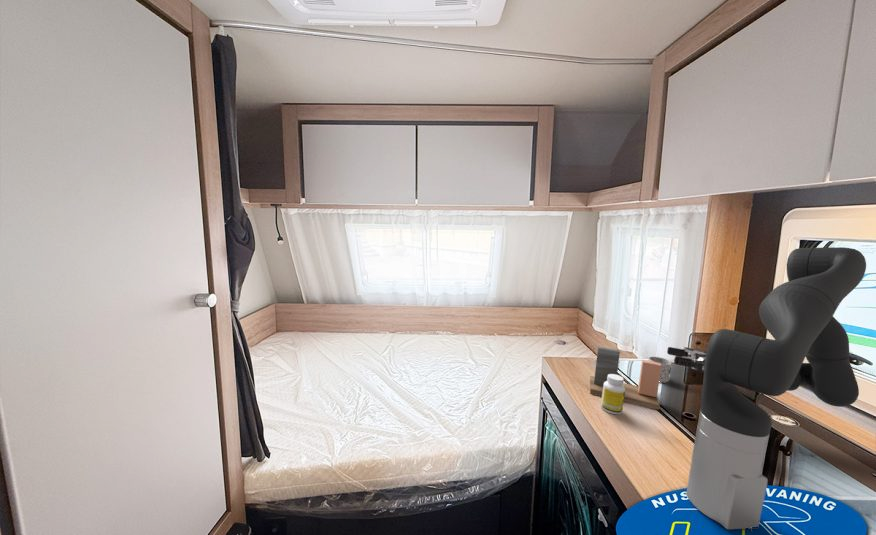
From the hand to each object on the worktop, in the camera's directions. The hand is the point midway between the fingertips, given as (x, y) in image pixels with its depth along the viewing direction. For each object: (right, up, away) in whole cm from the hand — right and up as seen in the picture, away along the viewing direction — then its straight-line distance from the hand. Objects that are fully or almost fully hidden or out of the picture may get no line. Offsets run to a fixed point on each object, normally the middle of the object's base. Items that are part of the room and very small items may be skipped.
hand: (671, 354), depth 93 cm
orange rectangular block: (-4, -13, +4) cm, 14 cm away
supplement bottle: (-19, -15, -2) cm, 24 cm away
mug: (+9, -13, +21) cm, 26 cm away
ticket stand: (-11, -14, +7) cm, 19 cm away
